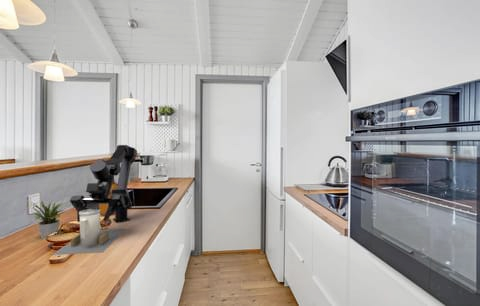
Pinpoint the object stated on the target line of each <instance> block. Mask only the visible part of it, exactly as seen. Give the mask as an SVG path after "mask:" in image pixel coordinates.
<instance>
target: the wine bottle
mask: <svg viewBox="0 0 480 306" xmlns="http://www.w3.org/2000/svg"><path fill="white" fill-rule="evenodd" d="M109 159H110V158H107V159H105V160H104V161H106V160H109ZM117 184H118V183H117V182H116V180H115V179H114V184H112V187H111V190H110V191H111V193H112V190H113V189H116V188H117ZM110 197H111V195H109V196H108V198H110ZM108 205H109V204H98V207H99V208H98V209H100V210H101V212H100V216H101V215H102V216H105V214H106V211H107V208H108ZM112 215H114V216H115V212H114V213H113V214H112ZM112 215H111V216H112Z"/></svg>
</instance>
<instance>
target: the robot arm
mask: <svg viewBox="0 0 480 306" xmlns="http://www.w3.org/2000/svg"><path fill="white" fill-rule="evenodd" d="M137 156H138V150H137V149H136V148H135V147H132V146H129V145H127V144H118V145H117V146H116V149H115V150H114V152H113V153H112V155H111V157H110V158H108V159H109V160H106V159H105V160H106V161H105V160H104V159H102V158H100V159H99V158H98V159H97V161H94V162H93V163H92V164H90V166H89V169H90V171H91V173H92V175H93V178H95V179H96V180H97V182H93V183H91V182H88V183H87V185H86V188H85V189H86V191H85V192H86V193H88V196H89V197H91V198H86V197H85V196H84V195H72V196H71V197H70V198H69V202H70V204H71V205H72V206H73V208H75V209H76V211H77V212H76V214H77V215H76V216H77V219H76V220H77V222H78V223H80V215H79V212H80V211H82V210H86V208H87V206H88V205H95V204H96V205H99V204H109V205H108V208H107V211H106V214H105V215H103V216H104V218H103V221H104V222H106V221H107V220H109V218H110V217H111V216H112V214H113V213H114V212H115V214H114V218H113V219H112V220H113V221H114V222H115V223H120V222H121V223H122V222H127V221H130V220H131V218H130V217H129V215H128V214H129V213H128V212H129V211H128V210H129V209H131V208H132V207H133V206H132V205H133V201H132V199H131V198H130V194H129V191H128V184H129V179H130V173H131V168H132V167H131V166H132V165H133V163H134V162H135V161H136V158H137ZM115 176H118V179H117V183H116V184H117V188H116V189H113V190H112V193H111V191H110V190H111V187H112V184H114V180H115ZM109 195H111V197H110V198H108V196H109Z"/></svg>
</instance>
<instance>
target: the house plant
mask: <svg viewBox="0 0 480 306" xmlns="http://www.w3.org/2000/svg"><path fill="white" fill-rule="evenodd" d="M50 199H52V197H51V198H50ZM67 200H68V199H65V200H63V201H62V202H59V203H58V204H56V203H57V202H56V200H55V199H53V200H52V202H53V205H52V208H51V209H50V207H51V204H52V202H51V200H49V202H48V205H45V203H44V202H43V201H42V200H41V199H40V200H39V204H40V205H41V207H42V208H43V209H42V208H41V207H39V206H38V205H37V203H34V202H32V205H29V206H33V207H32V209H33V210H35V211H36V213H33V217H35V218H34V221H36V220H40V222H38V223H37V226H38V230H39V231H38V232H39V234H40V238H41V240H45V239H46V238H48V237H49V236H48V235H50V234H52V233H54V232H57V231H58V232H59V227H60V222H61V221H60V219H59V218H60V216H61V214H63V213H65V209H64V210H63V209H62V210H58V209H59V207H61V205H63V204H64V202H66V201H67ZM27 203H29V204H31V202H29V201H28V202H27ZM35 207H36V208H35ZM37 209H38V210H37ZM39 211H40V212H41V213H40V212H39ZM37 212H38V213H37ZM58 213H59V214H58ZM42 214H43V215H42ZM29 217H30V218H31V217H32V216H31V215H30V216H29ZM47 236H48V237H47Z"/></svg>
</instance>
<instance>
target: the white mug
mask: <svg viewBox="0 0 480 306" xmlns="http://www.w3.org/2000/svg"><path fill="white" fill-rule="evenodd" d="M100 212H101V210H100V209H99V208H87V209H86V210H82V211H80V212H79V215H80V222H79V233H80V245H81V246H84V247H87V246H93V245H96V244H98V243H99V237H100V230H101V214H100Z"/></svg>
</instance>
